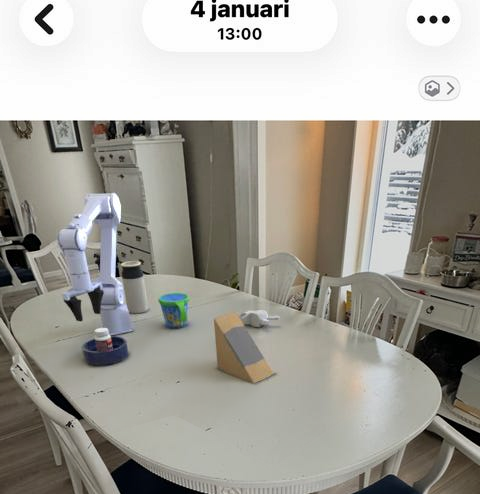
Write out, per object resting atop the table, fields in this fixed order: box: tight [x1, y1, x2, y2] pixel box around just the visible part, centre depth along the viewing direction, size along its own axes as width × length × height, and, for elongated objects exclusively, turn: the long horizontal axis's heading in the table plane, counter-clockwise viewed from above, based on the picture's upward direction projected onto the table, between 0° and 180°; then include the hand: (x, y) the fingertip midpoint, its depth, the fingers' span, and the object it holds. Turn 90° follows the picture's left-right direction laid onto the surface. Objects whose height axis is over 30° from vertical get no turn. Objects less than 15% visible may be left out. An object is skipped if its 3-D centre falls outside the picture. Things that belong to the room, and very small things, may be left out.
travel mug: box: [120, 260, 149, 314], centre depth 180 cm, size 8×8×18 cm
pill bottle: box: [94, 327, 113, 352], centre depth 143 cm, size 5×5×8 cm
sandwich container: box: [213, 311, 275, 384], centre depth 130 cm, size 9×15×15 cm, turn 44°
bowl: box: [81, 335, 129, 366], centre depth 145 cm, size 13×13×4 cm
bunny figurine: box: [238, 309, 281, 328], centre depth 164 cm, size 10×5×15 cm
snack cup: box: [158, 292, 190, 329], centre depth 166 cm, size 16×10×10 cm
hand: (88, 317), depth 147 cm, fingers open, 7 cm apart
